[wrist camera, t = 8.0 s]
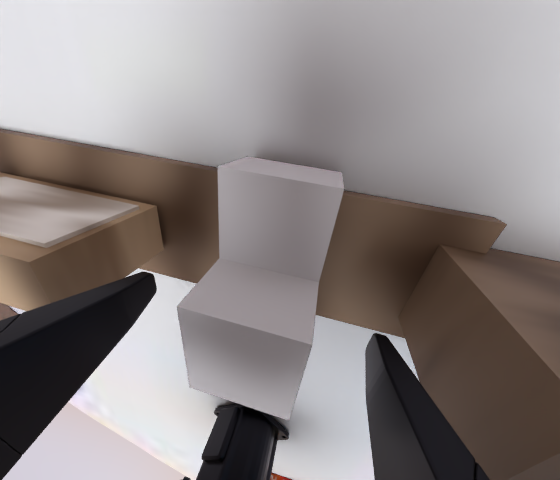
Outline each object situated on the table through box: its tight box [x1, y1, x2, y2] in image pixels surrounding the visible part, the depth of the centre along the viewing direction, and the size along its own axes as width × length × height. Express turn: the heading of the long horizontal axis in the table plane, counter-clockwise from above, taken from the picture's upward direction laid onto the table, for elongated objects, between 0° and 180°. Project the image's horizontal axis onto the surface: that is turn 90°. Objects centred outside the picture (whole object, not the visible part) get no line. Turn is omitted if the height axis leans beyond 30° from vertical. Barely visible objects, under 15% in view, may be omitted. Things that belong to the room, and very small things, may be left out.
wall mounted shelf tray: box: [0, 172, 164, 311], centre depth 11 cm, size 12×4×6 cm, turn 83°
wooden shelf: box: [0, 129, 560, 480], centre depth 10 cm, size 34×8×8 cm, turn 83°
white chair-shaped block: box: [177, 156, 344, 421], centre depth 10 cm, size 4×9×6 cm, turn 173°
